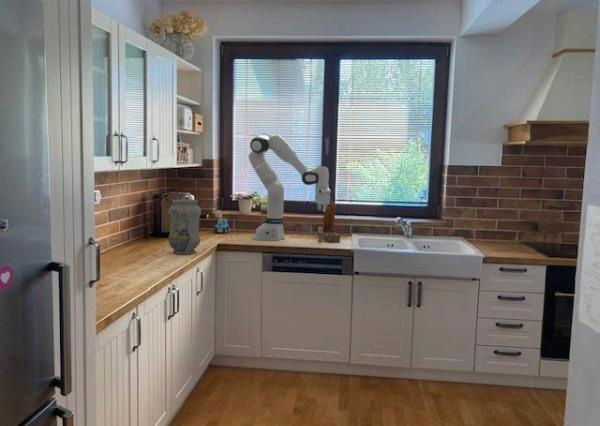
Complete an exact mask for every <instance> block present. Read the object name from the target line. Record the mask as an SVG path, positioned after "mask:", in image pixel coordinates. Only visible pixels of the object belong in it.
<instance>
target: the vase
mask: <svg viewBox="0 0 600 426" xmlns="http://www.w3.org/2000/svg"><path fill="white" fill-rule="evenodd" d="M171 202H172V205H171V206H169V207H168V209H167V210H168V215H169V220H170V221H169V223H170V224H169V225H170V231H169V235H168V240H167V241H168V244H169V246H170V247H171V248H172V249H173V251H172V253H173V254H174V255H182V256H183V255H184V256H185V255H194V254H196V252H197V251H196V250H195V249H196V248H198V246H199V245H200V243H201V235H200V234H199V233H200V231H199V229H200V228H199V227H200V226H199V225H200V217H201V214H202V209H201V207H200V206H199V205H198V203H199V200H198V199H173V200H172V201H171Z"/></svg>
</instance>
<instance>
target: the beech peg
mask: <svg viewBox="0 0 600 426" xmlns="http://www.w3.org/2000/svg"><path fill="white" fill-rule="evenodd" d="M323 229H324V226H318V228H317V238H318V239H317V242H318V243H323V240H322V238H323V237H322V235H323Z"/></svg>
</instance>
